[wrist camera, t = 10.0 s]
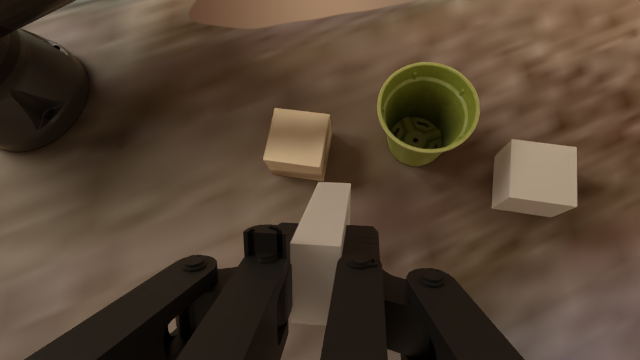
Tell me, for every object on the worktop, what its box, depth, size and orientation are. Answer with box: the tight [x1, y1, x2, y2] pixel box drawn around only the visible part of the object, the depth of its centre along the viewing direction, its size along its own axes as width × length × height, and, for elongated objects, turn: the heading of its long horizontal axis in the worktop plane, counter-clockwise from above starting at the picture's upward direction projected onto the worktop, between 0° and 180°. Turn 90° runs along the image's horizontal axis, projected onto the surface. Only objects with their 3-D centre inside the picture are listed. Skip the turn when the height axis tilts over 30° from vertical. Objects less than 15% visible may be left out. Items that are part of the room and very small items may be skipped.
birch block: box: [263, 108, 332, 181], centre depth 42 cm, size 6×6×5 cm
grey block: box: [492, 139, 577, 217], centre depth 39 cm, size 6×6×5 cm
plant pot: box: [377, 62, 480, 166], centre depth 39 cm, size 9×9×9 cm
